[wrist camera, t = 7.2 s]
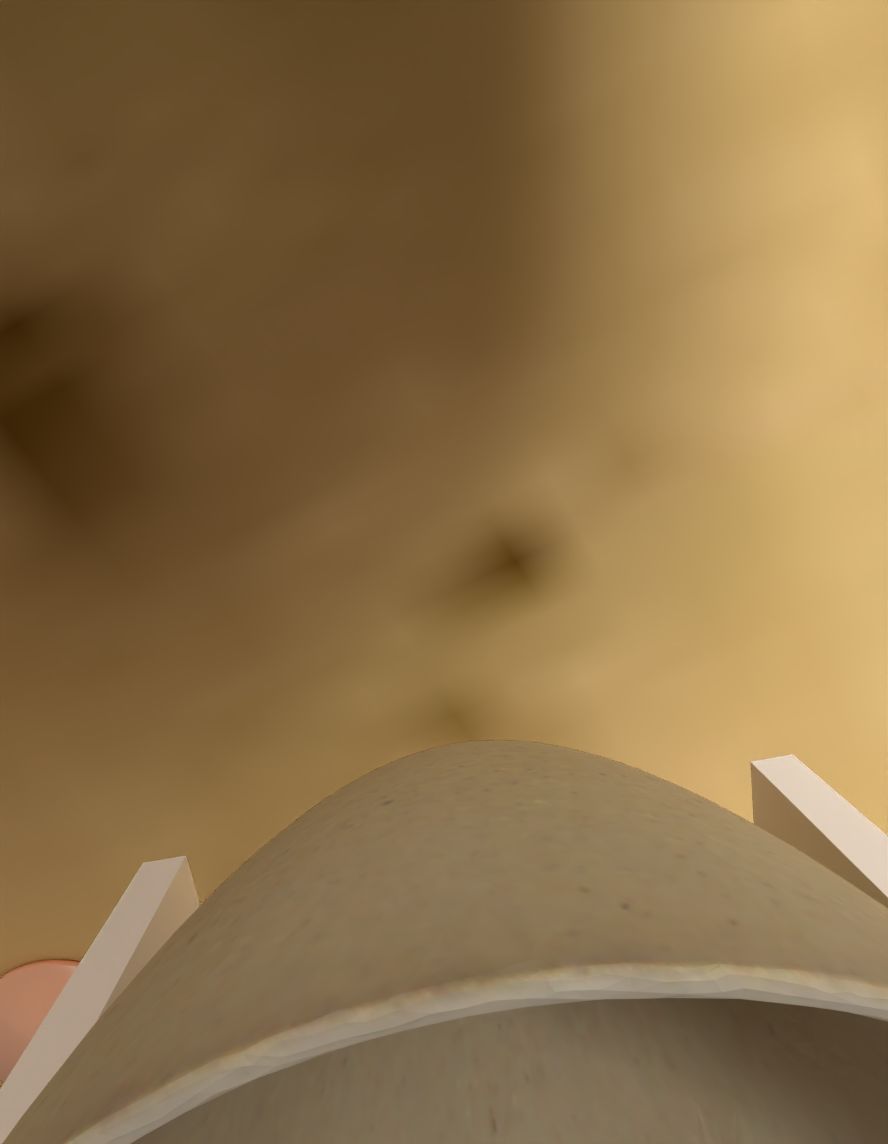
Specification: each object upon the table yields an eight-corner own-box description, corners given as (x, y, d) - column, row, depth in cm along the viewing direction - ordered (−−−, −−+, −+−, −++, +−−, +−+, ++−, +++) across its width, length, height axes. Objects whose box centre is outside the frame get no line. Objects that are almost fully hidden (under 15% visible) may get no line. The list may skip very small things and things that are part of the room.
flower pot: (323, 1155, 13) (206, 2066, 6) (96, 720, 10) (-573, 1325, 3) (807, 1001, 12) (1329, 1768, 5) (679, 516, 10) (1287, 719, 3)
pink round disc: (-48, 975, 18) (-52, 981, 18) (125, 946, 18) (122, 952, 18) (8, 1108, 19) (3, 1115, 19) (170, 1080, 19) (167, 1087, 19)
